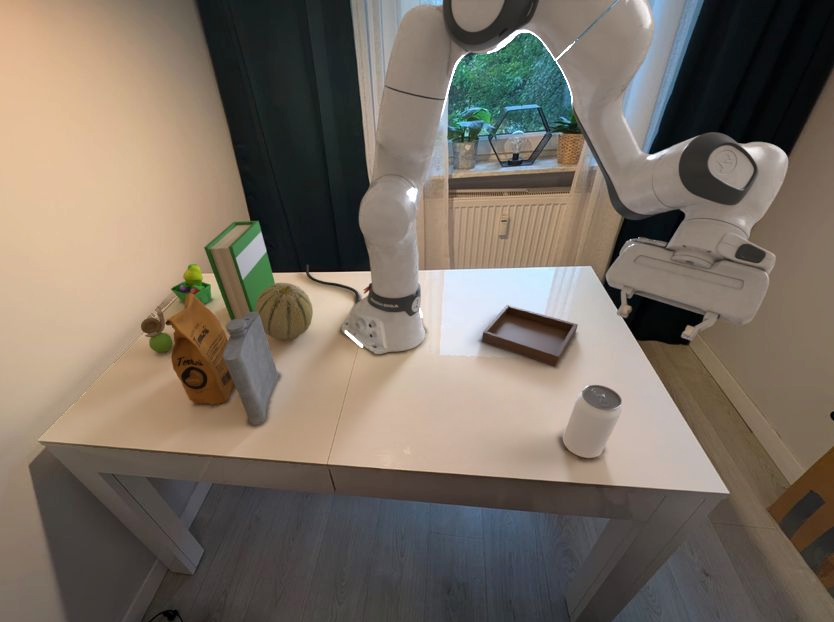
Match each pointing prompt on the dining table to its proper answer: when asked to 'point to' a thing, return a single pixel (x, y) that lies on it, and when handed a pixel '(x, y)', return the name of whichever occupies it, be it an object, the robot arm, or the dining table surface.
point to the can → (592, 421)
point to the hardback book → (240, 266)
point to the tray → (530, 334)
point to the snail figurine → (157, 333)
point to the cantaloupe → (284, 311)
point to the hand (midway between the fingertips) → (652, 326)
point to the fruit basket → (193, 285)
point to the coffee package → (200, 353)
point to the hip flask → (250, 364)
